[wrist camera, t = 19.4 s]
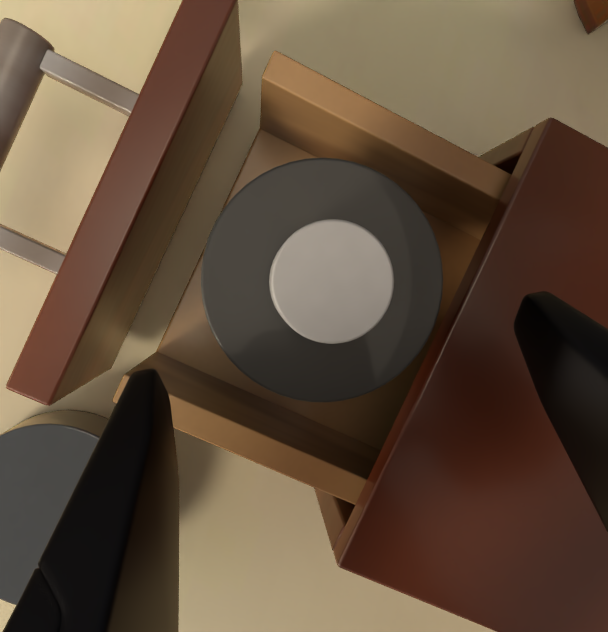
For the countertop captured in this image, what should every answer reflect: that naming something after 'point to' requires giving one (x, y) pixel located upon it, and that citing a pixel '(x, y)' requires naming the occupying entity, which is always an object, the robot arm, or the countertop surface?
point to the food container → (592, 13)
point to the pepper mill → (321, 280)
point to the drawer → (161, 221)
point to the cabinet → (496, 421)
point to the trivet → (38, 487)
